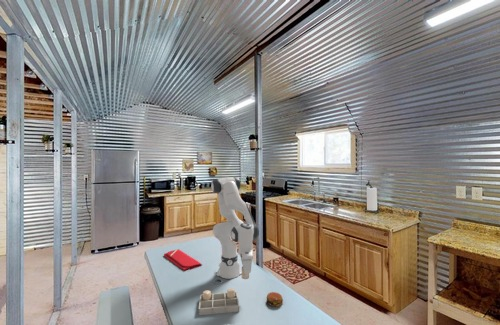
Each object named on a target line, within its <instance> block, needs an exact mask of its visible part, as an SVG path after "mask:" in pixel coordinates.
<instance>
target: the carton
mask: <svg viewBox="0 0 500 325" xmlns="http://www.w3.org/2000/svg"><path fill="white" fill-rule="evenodd" d="M199 296H200V297H199V304H198V316H204V315H213V314H215V315H216V314H227V313H236V312H237V313H239V312H240V302H239V301H240V300H239V297H238V291H235V298H234V299H227V292H215V293H211V300H209V301H203V293H202V294H201V293H200V295H199Z"/></svg>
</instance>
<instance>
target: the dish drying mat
mask: <svg viewBox="0 0 500 325" xmlns="http://www.w3.org/2000/svg"><path fill="white" fill-rule="evenodd" d="M163 257H165V258H166V259H167V260H168V261H169V262H170V263H172V264H174V265H175V266H176V267H177V268H179V269H181V270H182V271H183V272H186V271H187V272H188V271H190V270H193V269H197V268H199V266H200V267H202V266H203V264H202V263H201V262H200V261H198V260H196V259H195V258H194V257H192V256H191V255H189V254H187V253H186V252H184V251H182V250H180V249H174V250H170V251H168V252H166V253H164V254H163Z"/></svg>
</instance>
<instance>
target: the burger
mask: <svg viewBox="0 0 500 325" xmlns="http://www.w3.org/2000/svg"><path fill="white" fill-rule="evenodd" d="M266 302H267V304H269V305H270V306H271V307H276V308H278V307H281V306H282V305H283V303H284V299H283V296H282V294H281V293H279V292H275V291H274V292H273V291H272V292H268V294H267V295H266Z"/></svg>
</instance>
